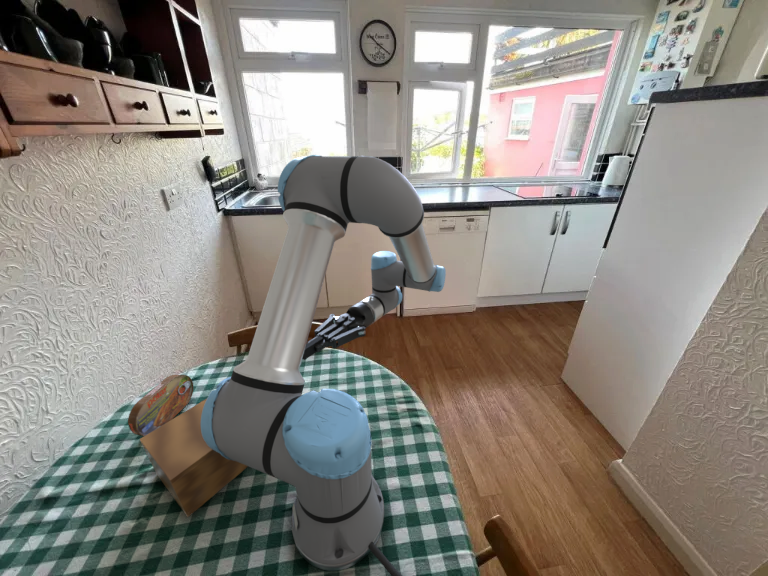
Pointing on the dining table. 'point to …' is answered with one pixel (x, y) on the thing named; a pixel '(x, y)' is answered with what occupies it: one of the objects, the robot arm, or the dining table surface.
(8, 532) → the dining table surface
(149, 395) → the tin
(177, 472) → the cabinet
